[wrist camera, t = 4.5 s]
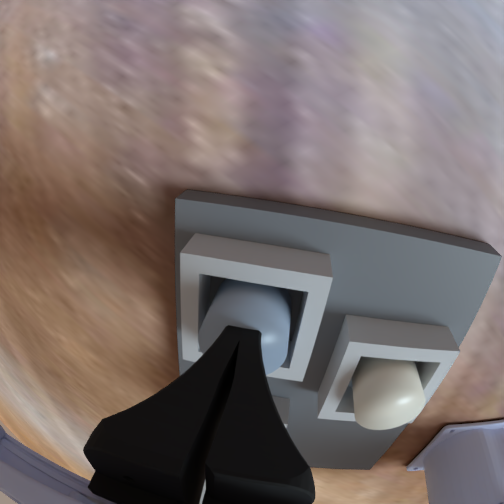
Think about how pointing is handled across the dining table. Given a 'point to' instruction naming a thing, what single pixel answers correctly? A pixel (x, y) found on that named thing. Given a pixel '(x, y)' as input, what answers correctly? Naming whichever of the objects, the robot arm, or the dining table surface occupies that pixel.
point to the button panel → (331, 304)
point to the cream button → (386, 392)
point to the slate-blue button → (251, 317)
